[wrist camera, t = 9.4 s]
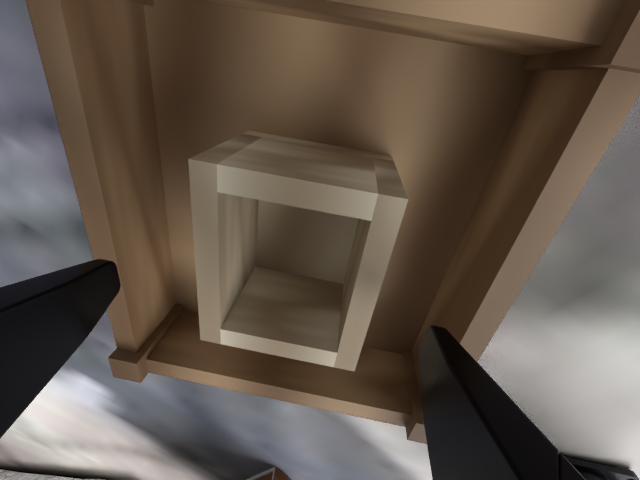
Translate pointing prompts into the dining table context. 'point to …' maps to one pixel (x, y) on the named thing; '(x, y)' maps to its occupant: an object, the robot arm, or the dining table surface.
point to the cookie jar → (33, 476)
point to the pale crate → (292, 244)
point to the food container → (271, 475)
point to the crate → (344, 131)
